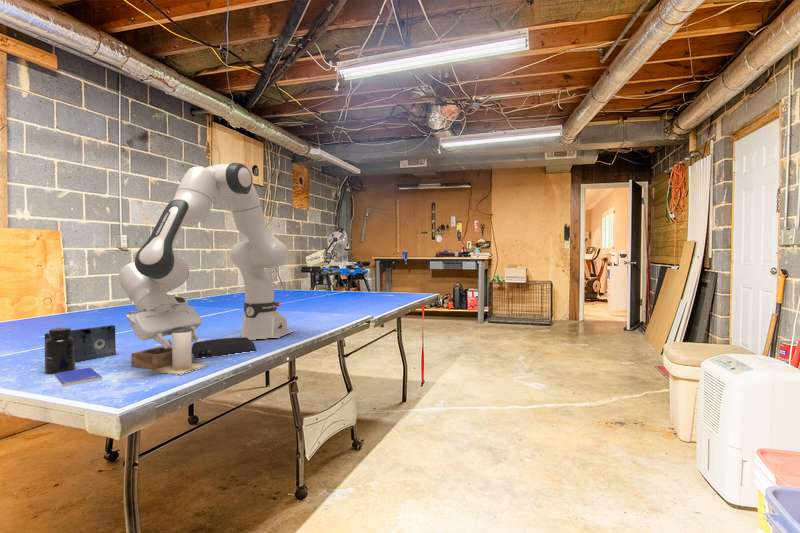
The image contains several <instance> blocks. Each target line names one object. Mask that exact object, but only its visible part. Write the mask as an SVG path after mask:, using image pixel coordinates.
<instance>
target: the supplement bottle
mask: <svg viewBox="0 0 800 533" xmlns="http://www.w3.org/2000/svg"><path fill="white" fill-rule="evenodd" d="M71 330H72V329H71V328H70V327H57V328H51V329H49V330H48V333H49V337H50V339H48V340H47V341H46V342H45V341H44V372H45V373H46V374H54V373H55V374H56V373H59V372H65V371H72V370H75V368H76V363H75V339H74V338H72V337H70V335H71ZM55 374H54V375H55Z"/></svg>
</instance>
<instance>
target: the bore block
mask: <svg viewBox="0 0 800 533" xmlns="http://www.w3.org/2000/svg"><path fill="white" fill-rule="evenodd" d="M169 365H172V346H171V347H170V348H166V349H165V348H164V347H163V345H161V346H156V347H153V348H148V349H145V350H139V351H135V352H132V353H131V368H139V369H145V370H146V369H148V370H155V369H158V368H162V367H165V366H169Z"/></svg>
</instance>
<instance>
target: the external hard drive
mask: <svg viewBox="0 0 800 533" xmlns="http://www.w3.org/2000/svg"><path fill="white" fill-rule="evenodd" d="M191 347H192V354H193V355H192V357H193V356H194V357H193V359H194V358H201V359H203V358H202V357H212V356H221V355H228V354H235V353H242V352H250V351H256V352H257V348H256V345H255V343H254V342H253V340H249V339H248V338H247V337H241V336H240V337H225V338H215V339H209V340H202V341H201V340H200V341H194V342H193V344H192V345H191ZM221 357H222V356H221ZM212 358H213V357H212Z"/></svg>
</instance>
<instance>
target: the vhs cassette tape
mask: <svg viewBox="0 0 800 533" xmlns="http://www.w3.org/2000/svg"><path fill="white" fill-rule="evenodd" d="M70 337H72V338H74V339H75V364H77V363H81V361H82V362H87V361H92V359H93V360H96V359H97V358H98V359H102V358H107V357H112V356H116V353H117V350H116V348H117V346H116V345H117V344H116V325H113V324H110V325H103V326H102V325H101V326H96V327H95V326H94V327H88V328H78V329H71V335H70ZM48 339H50V337H49V332H48V333H44V343H45V342H46V341H47V340H48ZM86 360H87V361H86ZM76 362H77V363H76Z"/></svg>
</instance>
